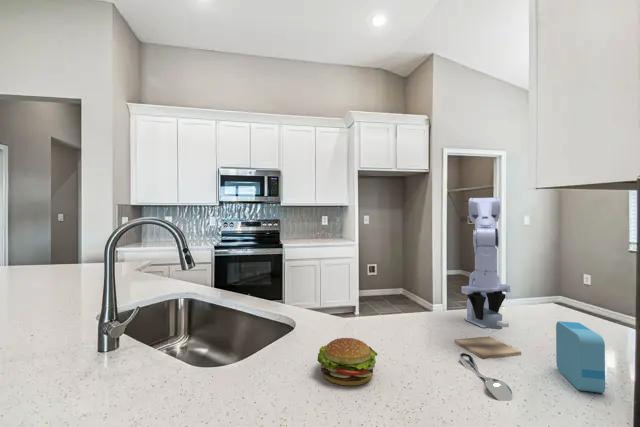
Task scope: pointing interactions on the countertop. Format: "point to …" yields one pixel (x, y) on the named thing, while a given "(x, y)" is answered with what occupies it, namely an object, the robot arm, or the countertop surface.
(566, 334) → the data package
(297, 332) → the countertop surface
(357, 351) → the food
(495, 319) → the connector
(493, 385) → the silver spoon
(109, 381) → the countertop surface
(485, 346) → the cork pad
